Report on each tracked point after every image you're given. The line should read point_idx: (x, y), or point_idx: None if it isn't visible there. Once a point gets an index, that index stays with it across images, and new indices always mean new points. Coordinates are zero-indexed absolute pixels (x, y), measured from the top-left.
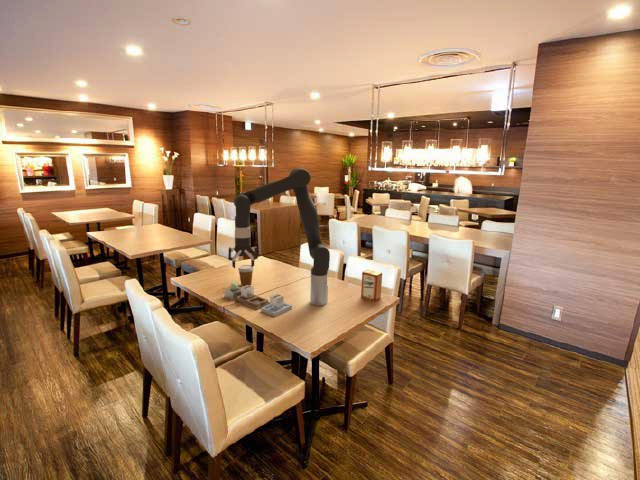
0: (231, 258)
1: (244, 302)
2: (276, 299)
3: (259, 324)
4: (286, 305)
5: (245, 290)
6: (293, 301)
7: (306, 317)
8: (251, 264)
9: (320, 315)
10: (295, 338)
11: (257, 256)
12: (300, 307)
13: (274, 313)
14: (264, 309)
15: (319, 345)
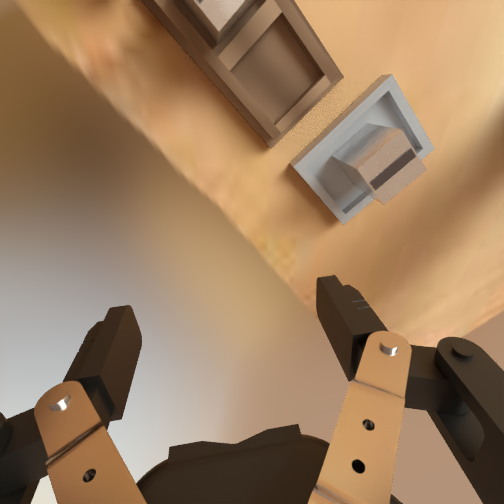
0: (43, 471)
1: (204, 59)
2: (380, 202)
3: (278, 268)
4: (410, 133)
5: (208, 20)
6: (461, 52)
7: (444, 229)
8: (328, 336)
9: (497, 217)
10: None
11: (472, 425)
12: (462, 136)
13: (342, 223)
14: (307, 182)
15: None
